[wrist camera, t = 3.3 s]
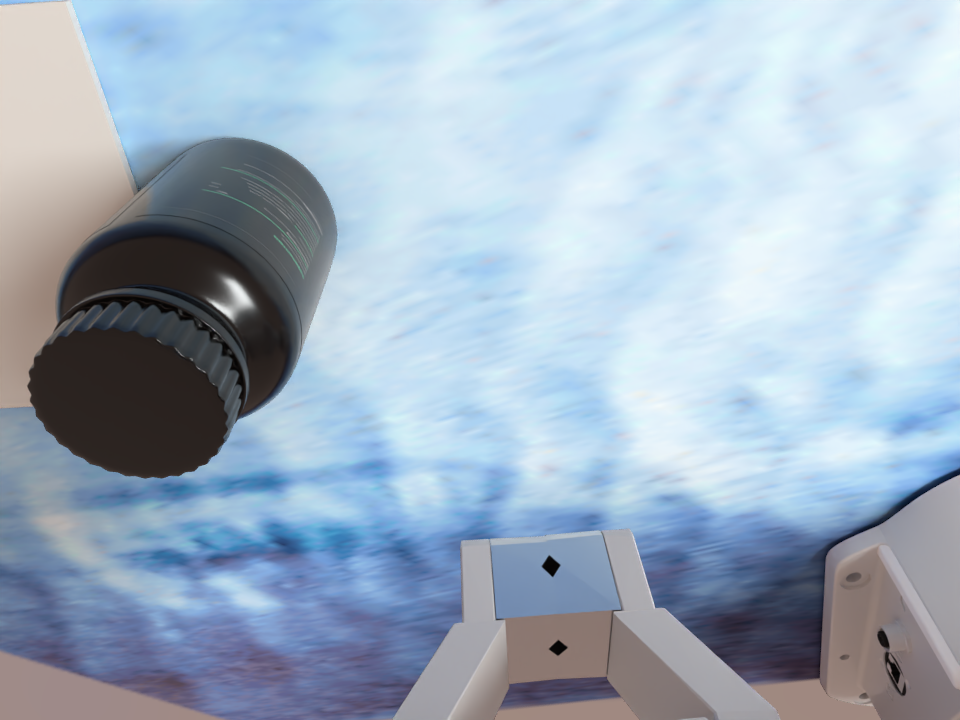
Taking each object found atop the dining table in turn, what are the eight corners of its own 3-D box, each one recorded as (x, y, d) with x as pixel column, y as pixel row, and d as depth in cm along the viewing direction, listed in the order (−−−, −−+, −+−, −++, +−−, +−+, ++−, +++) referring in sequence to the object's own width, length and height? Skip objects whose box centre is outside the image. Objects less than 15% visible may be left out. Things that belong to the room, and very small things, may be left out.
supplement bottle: (248, 324, 29) (140, 540, 19) (123, 196, 26) (-85, 378, 16) (374, 244, 27) (326, 439, 17) (256, 95, 24) (115, 231, 14)
